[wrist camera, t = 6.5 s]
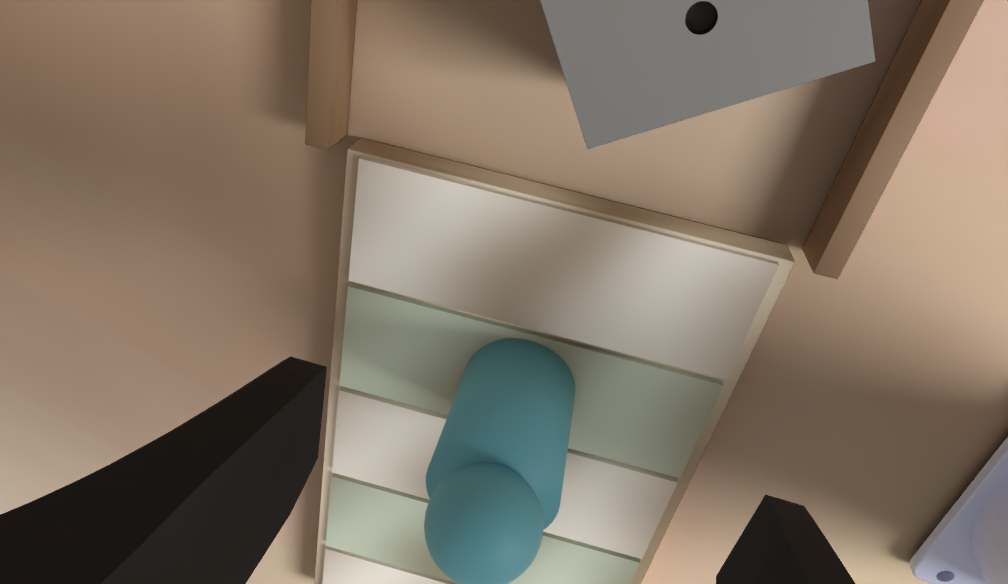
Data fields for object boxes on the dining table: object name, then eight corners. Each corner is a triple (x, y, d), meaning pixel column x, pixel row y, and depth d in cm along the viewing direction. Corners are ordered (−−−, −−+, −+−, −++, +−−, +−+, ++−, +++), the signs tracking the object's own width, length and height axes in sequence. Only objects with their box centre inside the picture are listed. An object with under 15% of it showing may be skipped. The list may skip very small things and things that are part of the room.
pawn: (587, 355, 20) (565, 545, 14) (560, 440, 21) (530, 641, 15) (474, 325, 20) (405, 500, 14) (456, 412, 21) (388, 600, 16)
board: (1080, -256, 12) (1127, -273, 11) (617, 667, 28) (616, 700, 27) (358, -406, 13) (330, -438, 12) (300, 575, 29) (286, 604, 28)
